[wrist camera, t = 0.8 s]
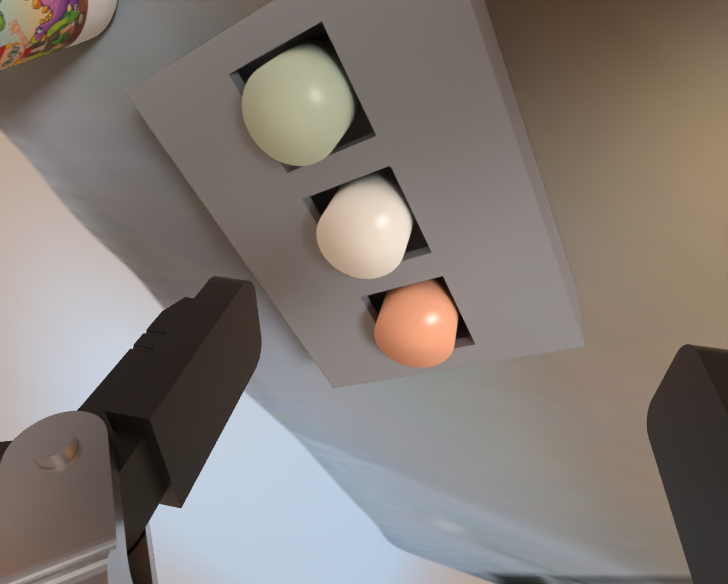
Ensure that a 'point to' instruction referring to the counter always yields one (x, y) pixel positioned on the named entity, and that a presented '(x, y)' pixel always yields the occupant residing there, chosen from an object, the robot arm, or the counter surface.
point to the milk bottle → (48, 26)
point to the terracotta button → (418, 323)
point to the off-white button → (366, 226)
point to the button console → (369, 154)
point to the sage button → (300, 103)
